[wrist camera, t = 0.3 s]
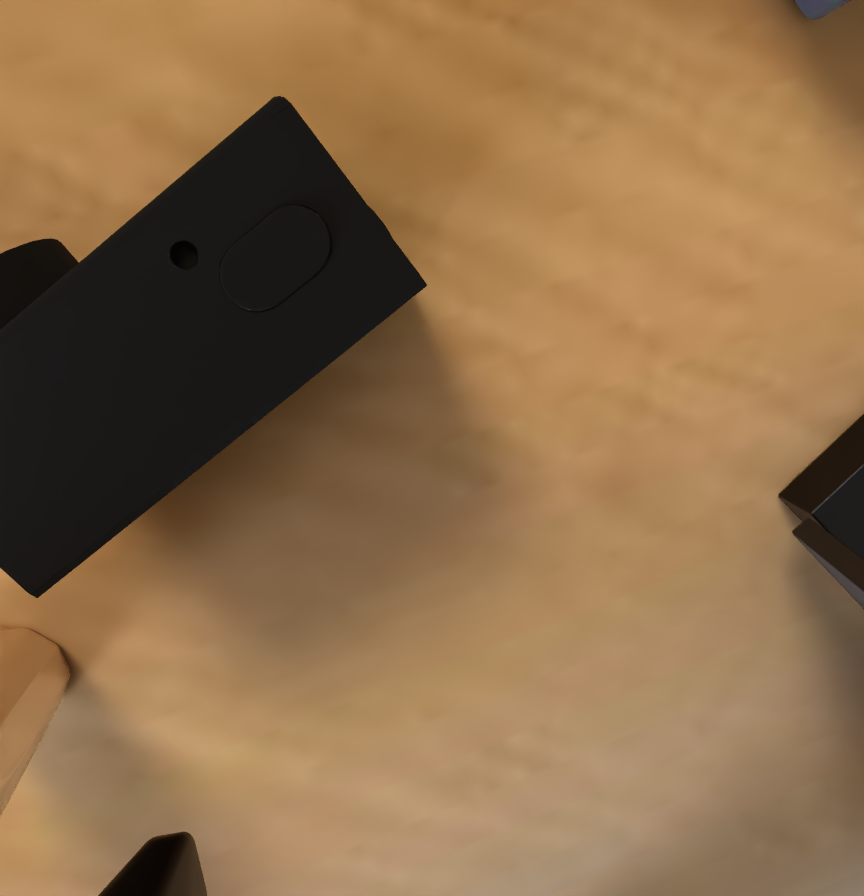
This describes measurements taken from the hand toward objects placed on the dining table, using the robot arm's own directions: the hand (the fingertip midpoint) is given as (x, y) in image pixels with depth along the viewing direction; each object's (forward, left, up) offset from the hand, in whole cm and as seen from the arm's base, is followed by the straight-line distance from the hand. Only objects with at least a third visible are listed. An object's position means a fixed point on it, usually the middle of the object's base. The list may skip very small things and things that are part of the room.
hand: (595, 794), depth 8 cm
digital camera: (+5, +6, -14) cm, 17 cm away
